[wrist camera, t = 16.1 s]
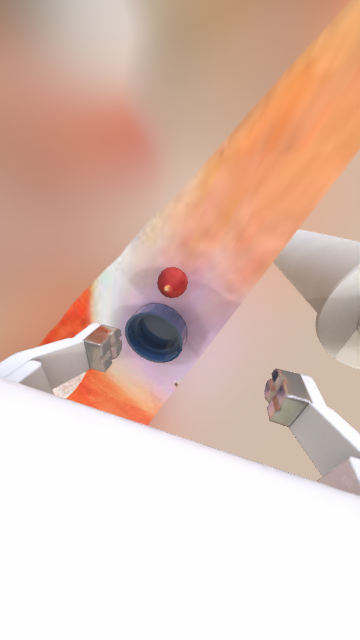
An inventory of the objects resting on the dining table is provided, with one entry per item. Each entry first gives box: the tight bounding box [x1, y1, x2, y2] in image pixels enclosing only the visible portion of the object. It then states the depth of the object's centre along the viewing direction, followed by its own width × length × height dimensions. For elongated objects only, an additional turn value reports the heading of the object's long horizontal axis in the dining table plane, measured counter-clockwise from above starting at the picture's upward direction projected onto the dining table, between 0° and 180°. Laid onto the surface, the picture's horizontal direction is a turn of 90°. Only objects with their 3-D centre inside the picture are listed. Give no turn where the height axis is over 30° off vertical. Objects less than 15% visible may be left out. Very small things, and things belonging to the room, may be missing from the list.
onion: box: [157, 267, 188, 298], centre depth 35 cm, size 6×6×8 cm
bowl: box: [125, 303, 187, 363], centre depth 44 cm, size 14×14×5 cm
